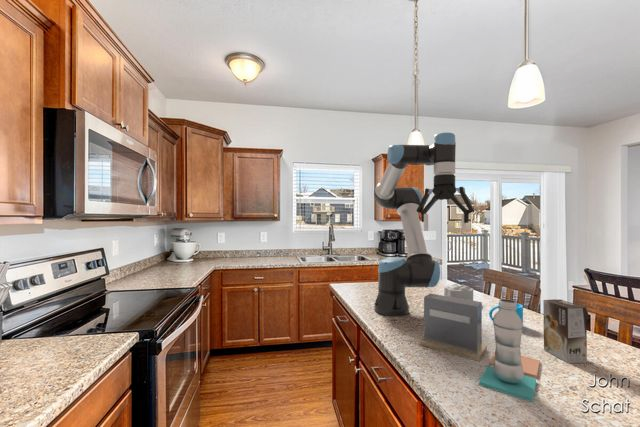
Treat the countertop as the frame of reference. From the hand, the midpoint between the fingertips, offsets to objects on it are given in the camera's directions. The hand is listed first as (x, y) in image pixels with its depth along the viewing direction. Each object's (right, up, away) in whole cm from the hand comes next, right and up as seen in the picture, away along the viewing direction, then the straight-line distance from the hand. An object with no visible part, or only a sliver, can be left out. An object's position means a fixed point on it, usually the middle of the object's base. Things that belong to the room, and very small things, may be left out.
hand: (444, 231), depth 112 cm
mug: (+26, -37, +5) cm, 46 cm away
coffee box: (+28, -37, -21) cm, 51 cm away
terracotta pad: (+9, -37, -26) cm, 46 cm away
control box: (-4, -37, -16) cm, 40 cm away
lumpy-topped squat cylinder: (+22, -38, +35) cm, 56 cm away
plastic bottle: (+1, -36, -36) cm, 51 cm away
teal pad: (+1, -36, -36) cm, 51 cm away
